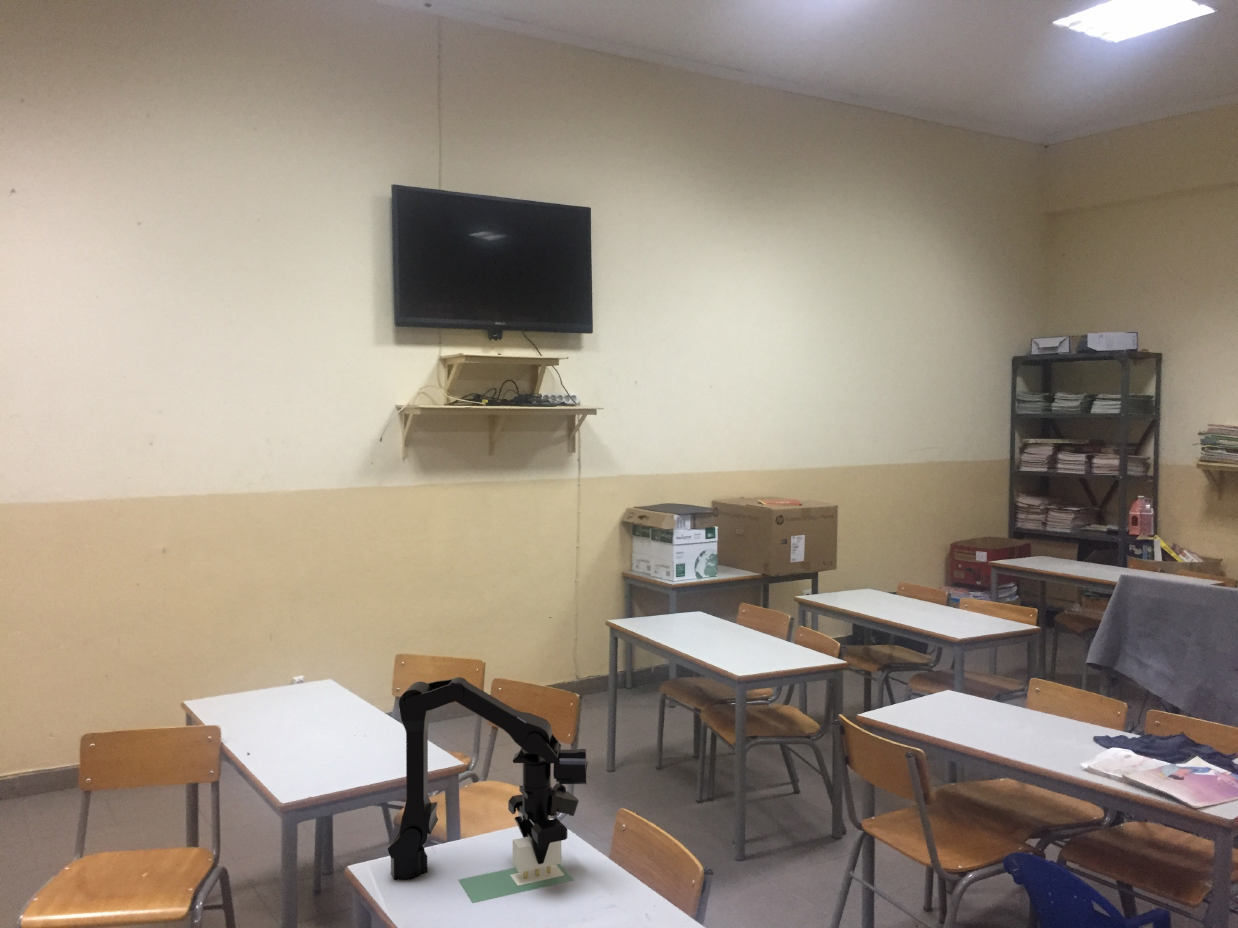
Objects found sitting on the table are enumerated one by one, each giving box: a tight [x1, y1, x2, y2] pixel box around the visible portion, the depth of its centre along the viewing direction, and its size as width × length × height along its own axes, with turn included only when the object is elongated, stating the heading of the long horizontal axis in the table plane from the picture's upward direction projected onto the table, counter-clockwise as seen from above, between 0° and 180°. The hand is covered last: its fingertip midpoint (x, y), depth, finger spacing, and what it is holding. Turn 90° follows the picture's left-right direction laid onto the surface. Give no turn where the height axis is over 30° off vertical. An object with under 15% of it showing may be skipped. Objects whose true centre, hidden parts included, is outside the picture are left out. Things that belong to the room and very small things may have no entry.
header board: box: [457, 863, 575, 904], centre depth 185 cm, size 21×10×4 cm, turn 115°
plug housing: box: [512, 837, 562, 873], centre depth 186 cm, size 9×4×5 cm, turn 115°
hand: (536, 858), depth 186 cm, fingers closed on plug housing, 4 cm apart
